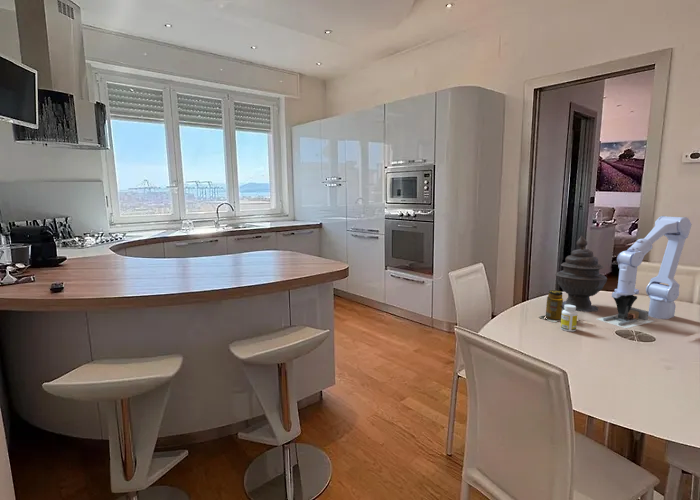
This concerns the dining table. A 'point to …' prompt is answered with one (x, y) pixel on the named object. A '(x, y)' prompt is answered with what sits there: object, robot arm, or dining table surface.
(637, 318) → the nut
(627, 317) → the carriage
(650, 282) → the robot arm
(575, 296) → the decorative urn
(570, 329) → the supplement bottle
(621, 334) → the dining table surface
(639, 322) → the board
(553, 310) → the condiment
